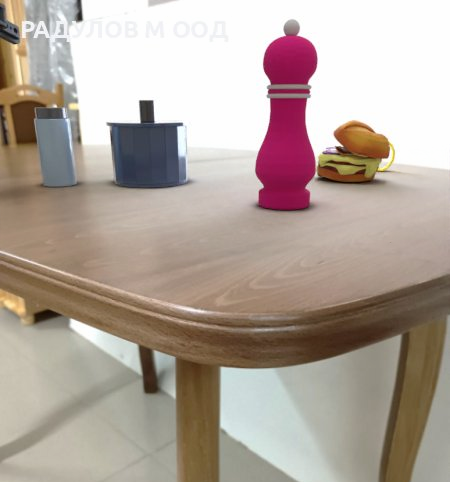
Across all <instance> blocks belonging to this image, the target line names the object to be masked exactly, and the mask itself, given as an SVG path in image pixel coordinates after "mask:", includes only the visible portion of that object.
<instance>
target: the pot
mask: <svg viewBox="0 0 450 482" xmlns="http://www.w3.org/2000/svg"><path fill="white" fill-rule="evenodd" d="M108 127H109V138H110V150H111V161H112V171H113V172H112V173H113V174H112V175H113V180H114V184H115V185H117V186H120V187H126V188H137V189H138V188H139V189H149V188H150V189H156V188H169V187H170V188H171V187H175V186H181V185H185V184H187V183H188V180H189V179H188V178H189V166H188V165H189V164H188V131H187V127H188V125H187V126H172V127H115V126H108Z"/></svg>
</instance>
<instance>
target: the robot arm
mask: <svg viewBox="0 0 450 482" xmlns="http://www.w3.org/2000/svg"><path fill="white" fill-rule="evenodd" d="M20 34H21V33H20V27H19V26H18V25H16V24H15V23H13V22H12V21H9V20H8V19H7V11H6V5H5V4H3V3H1V2H0V39H2V40H4V41H5V42H8V43H10V44H12V45H19V44H20V43H21V35H20Z"/></svg>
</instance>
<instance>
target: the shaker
mask: <svg viewBox="0 0 450 482" xmlns="http://www.w3.org/2000/svg"><path fill="white" fill-rule="evenodd" d="M34 113H35V114H34V115H35V118H33V122H34V128H35V129H34V130H35V137H36V144H37V150H38V151H37V152H38V158H39V166H40V173H41V174H40V175H41V181H42V185H43V186H44V187H50V188H59V187H60V188H61V187H72V186H75V185H77V184H78V180H77V171H76V163H75V162H76V161H75V154H74V143H73V135H72V126H71V118H70V117H69V118H68V110H67V107H66V106H65V107H64V106H63V107H61V106H60V107H58V106H56V107H45V106H43V107H42V106H41V107H34Z"/></svg>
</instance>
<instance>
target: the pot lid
mask: <svg viewBox="0 0 450 482" xmlns="http://www.w3.org/2000/svg"><path fill="white" fill-rule="evenodd" d="M138 108H139V110H138V111H139V119H133V120H110V121H106V122H105V124H106V126H107V127H109V126H115V127H172V126H187V127H188V126H189V125H190V121H189V120H176V119H175V120H172V119H157V114H156V113H157V111H156V100H155V99H149V100H148V99H139V100H138Z"/></svg>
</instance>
